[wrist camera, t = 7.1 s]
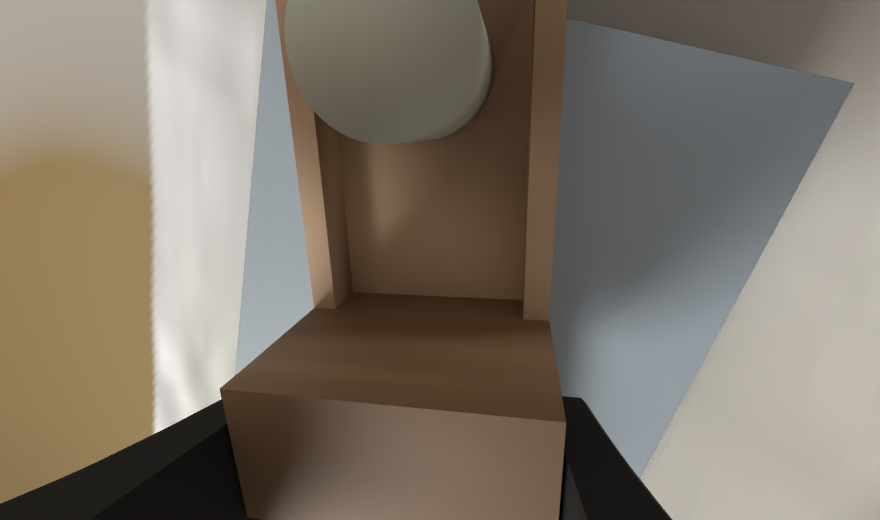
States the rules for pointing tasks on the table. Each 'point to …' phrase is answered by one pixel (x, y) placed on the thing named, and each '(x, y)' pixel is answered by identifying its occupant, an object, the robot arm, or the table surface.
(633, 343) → the slate shelf
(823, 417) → the table surface
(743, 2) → the table surface
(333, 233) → the walnut tray
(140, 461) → the robot arm
